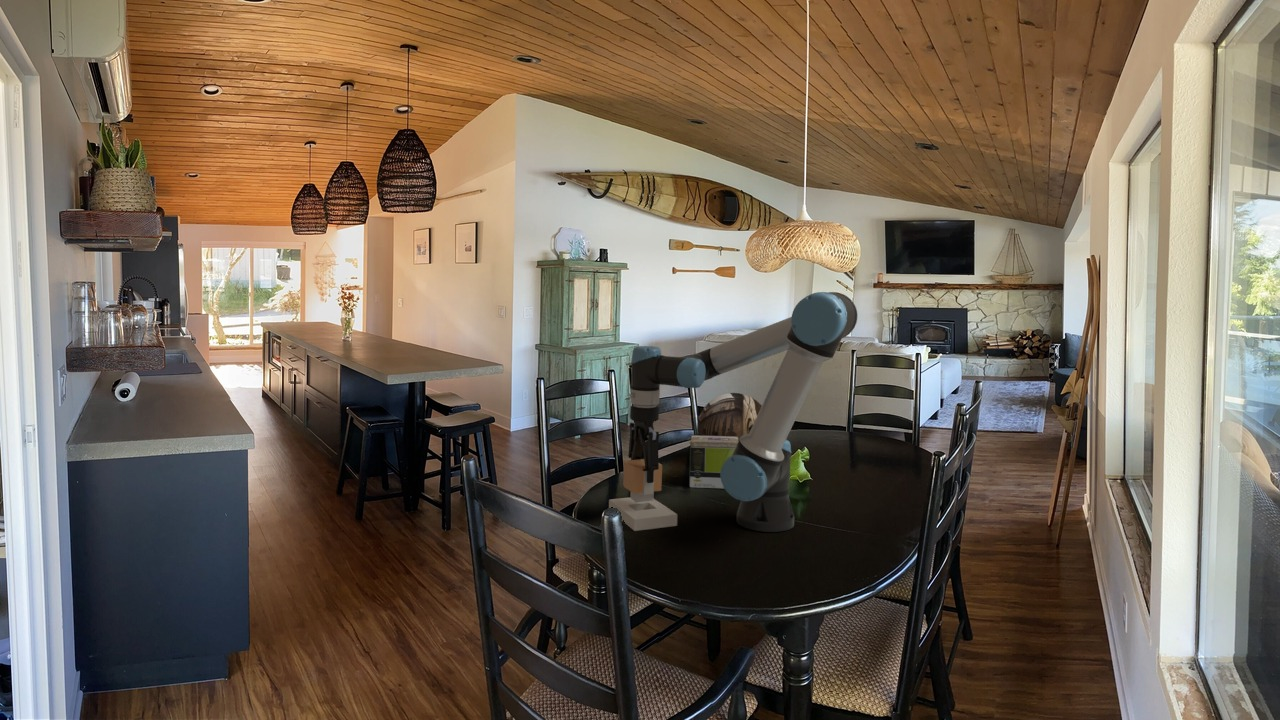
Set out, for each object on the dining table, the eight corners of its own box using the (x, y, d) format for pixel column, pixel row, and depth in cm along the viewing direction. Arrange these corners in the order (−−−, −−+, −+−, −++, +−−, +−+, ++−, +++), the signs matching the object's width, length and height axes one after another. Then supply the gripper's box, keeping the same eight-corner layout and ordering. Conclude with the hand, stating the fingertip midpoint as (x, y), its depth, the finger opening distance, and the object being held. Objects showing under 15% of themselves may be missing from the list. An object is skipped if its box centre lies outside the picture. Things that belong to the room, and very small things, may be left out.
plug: (661, 501, 203) (662, 464, 201) (633, 504, 199) (634, 467, 198) (650, 494, 209) (651, 458, 208) (622, 497, 206) (623, 460, 205)
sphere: (774, 475, 250) (777, 400, 247) (698, 473, 251) (700, 398, 248) (763, 457, 275) (766, 388, 272) (694, 455, 275) (696, 386, 273)
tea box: (737, 481, 243) (739, 435, 241) (738, 490, 233) (740, 442, 231) (689, 479, 244) (691, 433, 242) (688, 488, 234) (690, 440, 232)
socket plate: (677, 525, 199) (677, 514, 199) (634, 530, 194) (634, 519, 194) (648, 505, 215) (648, 495, 215) (608, 510, 210) (609, 499, 210)
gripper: (617, 399, 209) (615, 481, 211) (647, 412, 191) (644, 502, 193) (642, 398, 212) (640, 479, 214) (674, 411, 194) (671, 499, 196)
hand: (642, 489), depth 204 cm, fingers closed on plug, 7 cm apart
